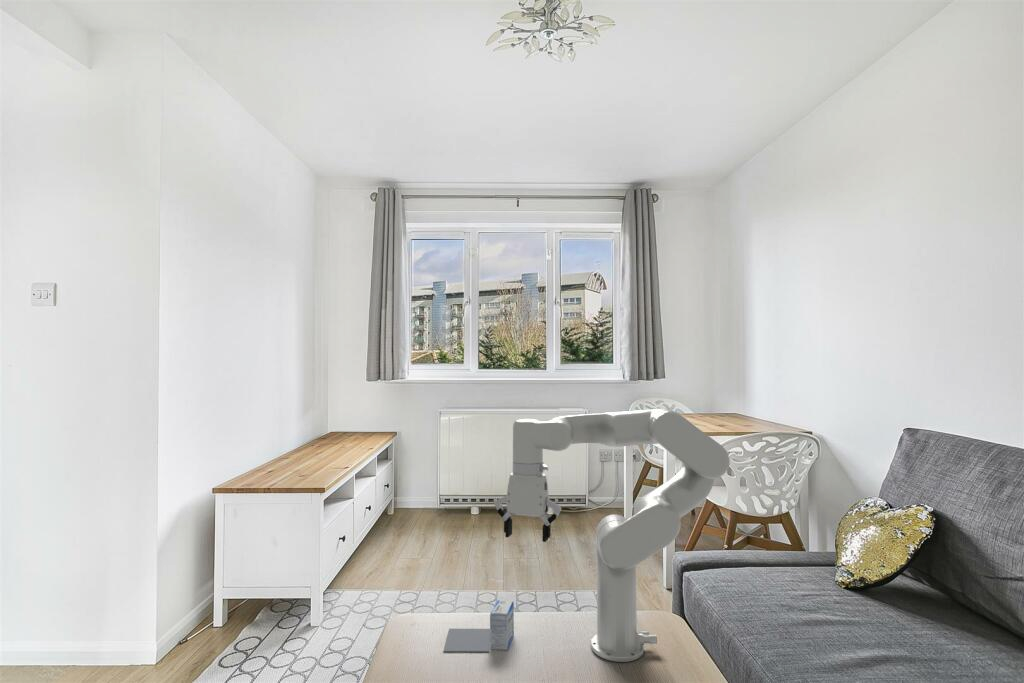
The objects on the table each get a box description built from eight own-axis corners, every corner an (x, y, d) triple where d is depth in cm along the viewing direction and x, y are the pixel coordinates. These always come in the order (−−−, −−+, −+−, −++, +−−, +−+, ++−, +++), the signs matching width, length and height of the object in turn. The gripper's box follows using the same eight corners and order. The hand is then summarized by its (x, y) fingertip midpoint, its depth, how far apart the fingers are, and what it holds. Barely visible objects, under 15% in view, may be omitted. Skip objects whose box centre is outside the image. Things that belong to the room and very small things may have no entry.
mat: (491, 629, 138) (491, 628, 139) (489, 652, 128) (489, 651, 128) (449, 629, 139) (449, 628, 139) (443, 652, 128) (443, 650, 128)
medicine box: (507, 651, 128) (507, 614, 129) (489, 649, 129) (489, 612, 129) (514, 635, 136) (514, 600, 136) (497, 633, 137) (497, 599, 137)
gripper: (564, 468, 134) (564, 537, 133) (500, 463, 140) (499, 530, 139) (557, 474, 127) (556, 547, 126) (490, 468, 133) (489, 538, 132)
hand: (526, 538), depth 133 cm, fingers open, 9 cm apart
